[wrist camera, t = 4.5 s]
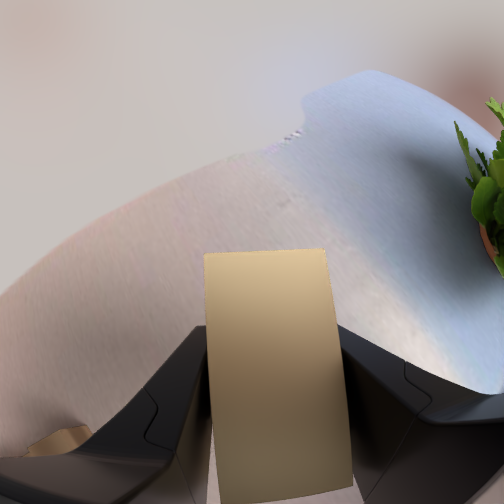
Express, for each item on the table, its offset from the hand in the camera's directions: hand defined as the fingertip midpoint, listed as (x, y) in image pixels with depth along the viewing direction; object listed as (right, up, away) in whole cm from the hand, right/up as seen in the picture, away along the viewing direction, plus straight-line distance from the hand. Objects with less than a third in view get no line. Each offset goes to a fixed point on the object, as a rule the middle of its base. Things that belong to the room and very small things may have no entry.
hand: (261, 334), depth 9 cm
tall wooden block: (0, -4, +6) cm, 8 cm away
